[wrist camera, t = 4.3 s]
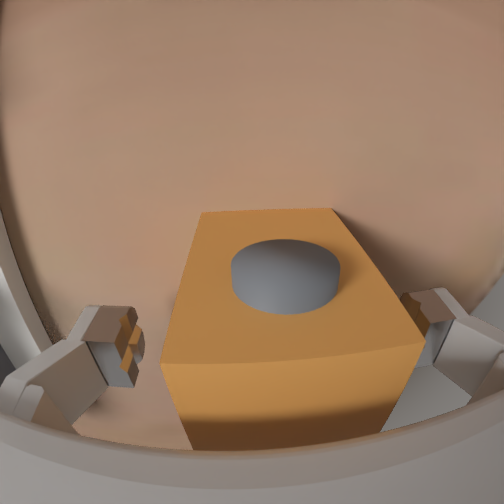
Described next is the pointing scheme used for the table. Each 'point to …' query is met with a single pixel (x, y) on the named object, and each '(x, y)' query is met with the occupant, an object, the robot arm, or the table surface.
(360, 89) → the table surface
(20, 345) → the shaft rig
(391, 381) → the block
